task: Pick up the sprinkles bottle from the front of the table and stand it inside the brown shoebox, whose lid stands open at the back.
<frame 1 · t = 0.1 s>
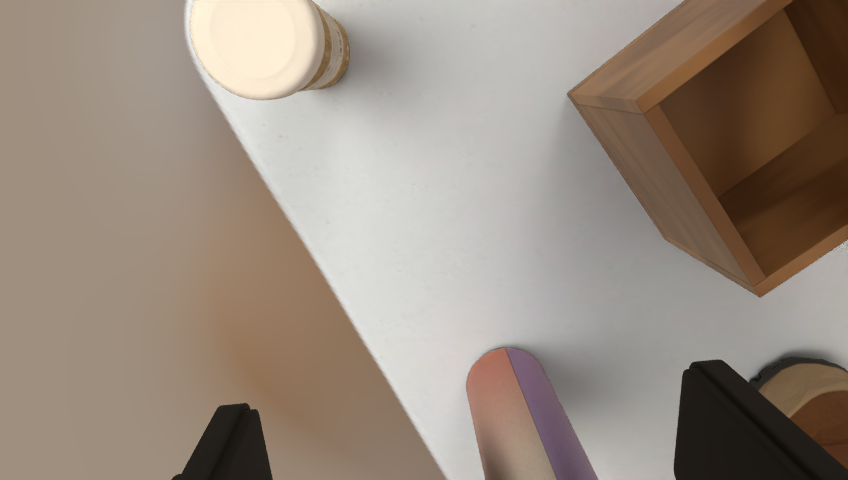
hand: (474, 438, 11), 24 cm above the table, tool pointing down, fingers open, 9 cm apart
beverage can: (503, 377, 38), on the table
shoebox: (706, 104, 33), on the table
sprinkles bottle: (314, 51, 31), on the table
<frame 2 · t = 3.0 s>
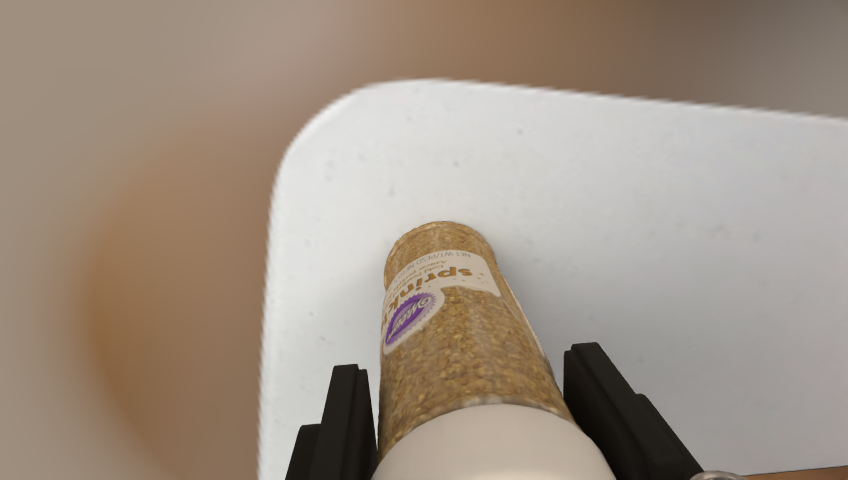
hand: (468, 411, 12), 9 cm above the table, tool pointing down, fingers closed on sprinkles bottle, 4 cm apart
sprinkles bottle: (439, 272, 20), on the table, touching gripper
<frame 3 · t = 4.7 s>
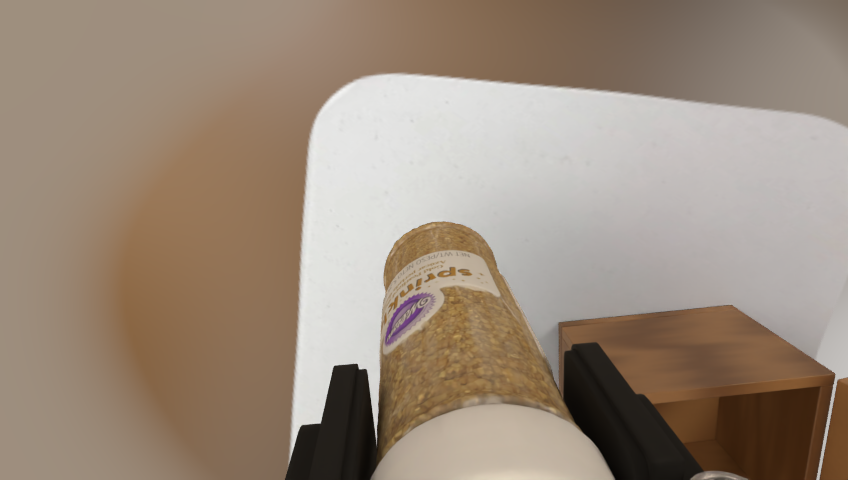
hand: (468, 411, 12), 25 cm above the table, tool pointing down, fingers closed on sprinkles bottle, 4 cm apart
shoebox: (641, 384, 41), on the table
sprinkles bottle: (439, 272, 20), point 16 cm above the table, touching gripper
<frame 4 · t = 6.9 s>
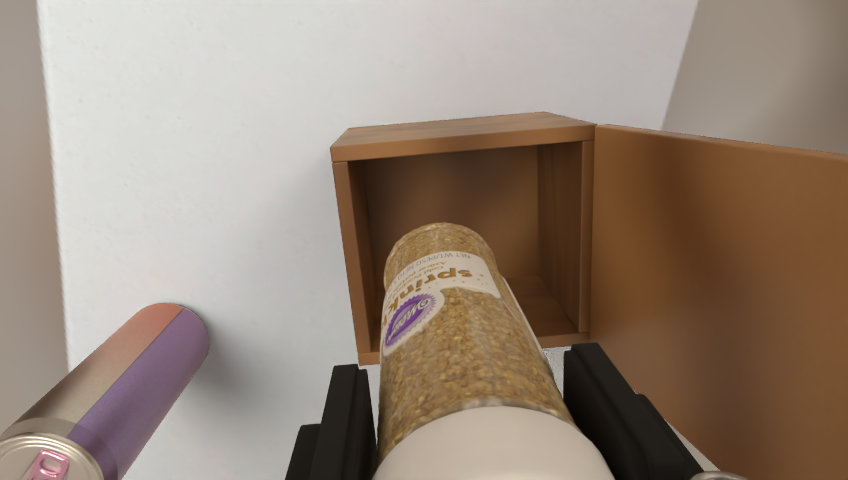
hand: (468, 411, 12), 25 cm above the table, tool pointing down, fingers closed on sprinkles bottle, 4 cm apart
beverage can: (173, 333, 39), on the table
shoebox lid: (741, 288, 21), point 17 cm above the table, hinge at 100.0°
shoebox: (452, 208, 37), on the table
sprinkles bottle: (439, 272, 20), point 17 cm above the table, touching gripper
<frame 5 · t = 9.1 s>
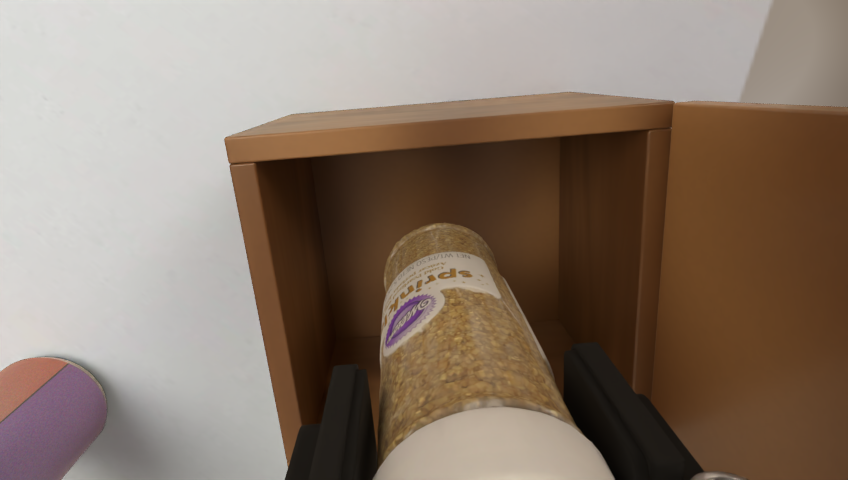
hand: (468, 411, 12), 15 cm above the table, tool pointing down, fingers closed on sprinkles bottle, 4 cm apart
beverage can: (60, 395, 29), on the table
shoebox: (440, 227, 26), on the table
sprinkles bottle: (439, 273, 20), point 6 cm above the table, touching gripper
when the fingers open (10 cm above the table, at t = 10.8 s): sprinkles bottle stays where it is, resting on shoebox.
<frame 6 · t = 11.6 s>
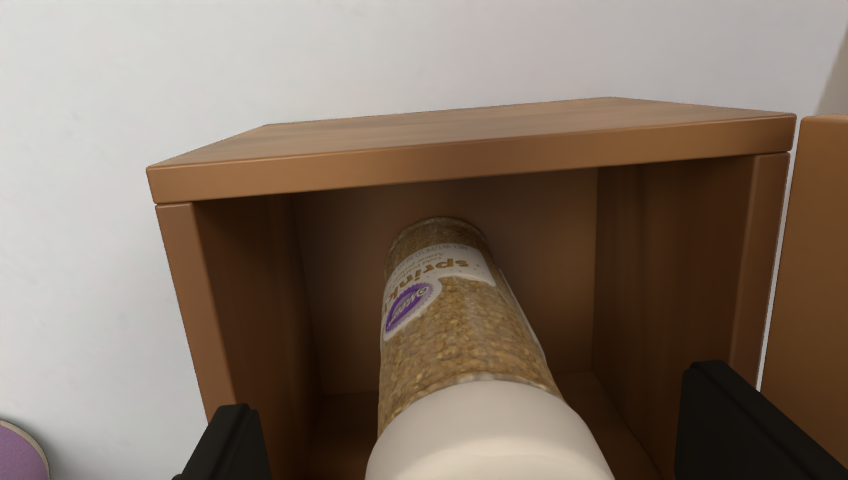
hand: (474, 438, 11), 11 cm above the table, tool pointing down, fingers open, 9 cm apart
shoebox: (449, 261, 22), on the table
sprinkles bottle: (438, 266, 21), point 1 cm above the table, touching shoebox
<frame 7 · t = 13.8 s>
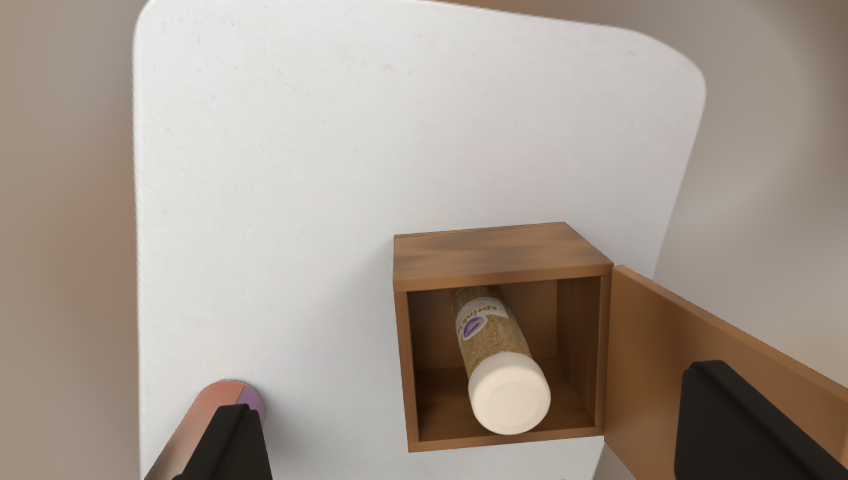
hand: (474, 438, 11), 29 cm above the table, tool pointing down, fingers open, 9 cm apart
beverage can: (233, 405, 44), on the table
shoebox lid: (730, 419, 26), point 17 cm above the table, hinge at 100.0°
shoebox: (482, 300, 42), on the table
sprinkles bottle: (477, 303, 41), point 1 cm above the table, touching shoebox
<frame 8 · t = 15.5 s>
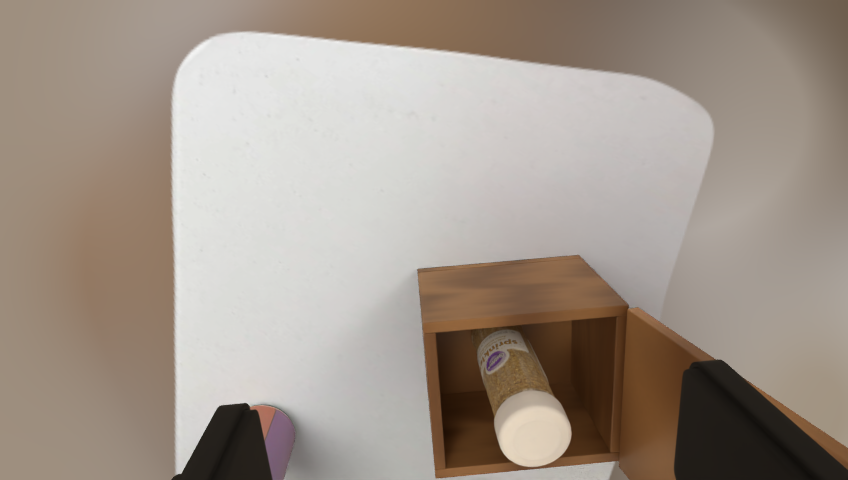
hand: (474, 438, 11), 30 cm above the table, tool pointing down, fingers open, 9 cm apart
beverage can: (264, 427, 46), on the table
shoebox lid: (739, 455, 28), point 17 cm above the table, hinge at 100.0°
shoebox: (500, 329, 44), on the table
sprinkles bottle: (495, 332, 44), point 1 cm above the table, touching shoebox
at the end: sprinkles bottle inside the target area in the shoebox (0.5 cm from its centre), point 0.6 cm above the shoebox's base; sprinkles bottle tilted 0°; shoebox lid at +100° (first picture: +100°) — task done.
